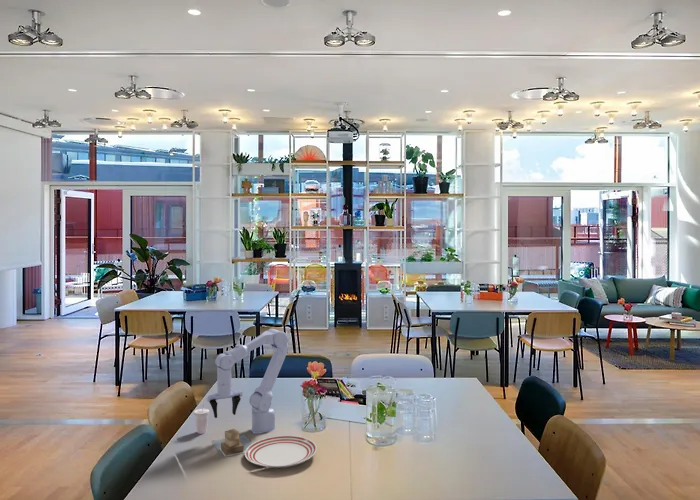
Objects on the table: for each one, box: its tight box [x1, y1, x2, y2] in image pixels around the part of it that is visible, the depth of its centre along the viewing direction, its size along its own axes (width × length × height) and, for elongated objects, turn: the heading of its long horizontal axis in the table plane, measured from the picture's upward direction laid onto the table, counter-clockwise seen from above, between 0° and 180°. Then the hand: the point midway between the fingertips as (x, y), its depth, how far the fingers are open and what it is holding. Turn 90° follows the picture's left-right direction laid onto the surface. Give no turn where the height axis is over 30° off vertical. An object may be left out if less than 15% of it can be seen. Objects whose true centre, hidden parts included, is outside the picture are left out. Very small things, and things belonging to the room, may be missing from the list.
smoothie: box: [193, 400, 210, 435], centre depth 227 cm, size 6×6×14 cm
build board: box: [211, 434, 253, 459], centre depth 212 cm, size 14×18×1 cm
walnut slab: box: [221, 441, 244, 455], centre depth 208 cm, size 7×7×2 cm
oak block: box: [224, 428, 240, 447], centre depth 208 cm, size 4×4×5 cm
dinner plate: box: [244, 434, 318, 469], centre depth 202 cm, size 27×27×3 cm
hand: (224, 415), depth 220 cm, fingers open, 7 cm apart
